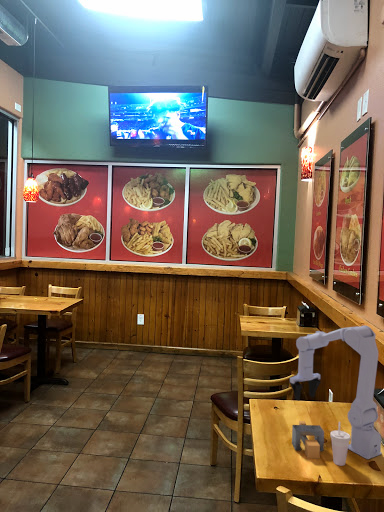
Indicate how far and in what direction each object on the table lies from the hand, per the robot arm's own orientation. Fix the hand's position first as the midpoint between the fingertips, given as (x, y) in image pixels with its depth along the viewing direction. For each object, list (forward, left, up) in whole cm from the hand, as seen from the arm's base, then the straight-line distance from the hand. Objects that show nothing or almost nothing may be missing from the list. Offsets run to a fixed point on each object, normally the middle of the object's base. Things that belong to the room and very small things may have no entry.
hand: (304, 398), depth 168 cm
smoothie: (-29, +13, -10) cm, 33 cm away
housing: (-16, +15, -10) cm, 24 cm away
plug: (-16, +14, -10) cm, 24 cm away
